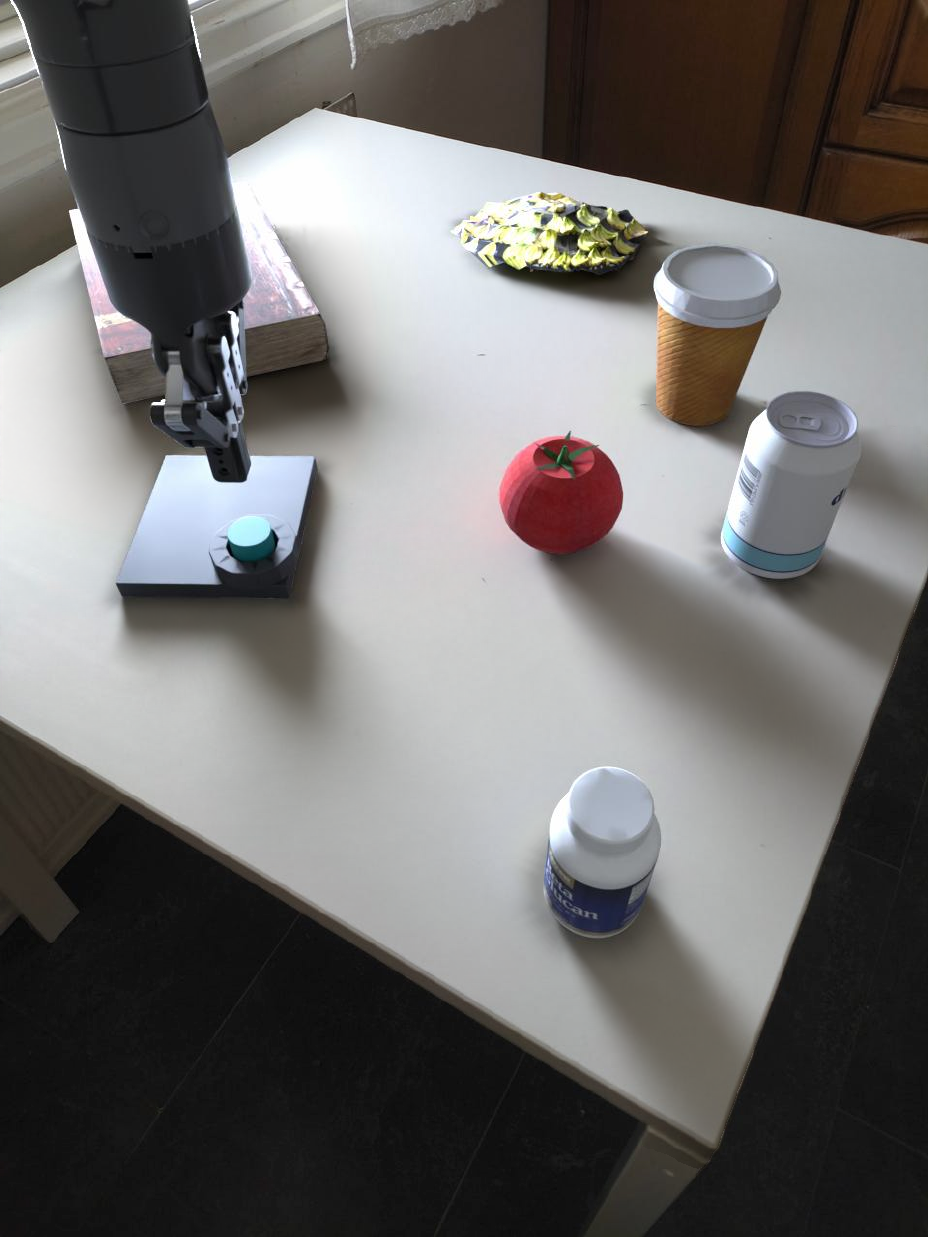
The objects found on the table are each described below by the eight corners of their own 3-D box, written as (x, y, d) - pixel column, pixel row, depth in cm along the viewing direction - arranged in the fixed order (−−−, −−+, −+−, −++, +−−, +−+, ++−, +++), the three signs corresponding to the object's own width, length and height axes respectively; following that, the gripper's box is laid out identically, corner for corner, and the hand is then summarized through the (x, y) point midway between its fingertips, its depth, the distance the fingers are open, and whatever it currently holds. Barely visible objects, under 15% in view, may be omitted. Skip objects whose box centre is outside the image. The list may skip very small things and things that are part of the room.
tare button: (271, 562, 62) (266, 546, 61) (227, 562, 62) (222, 546, 61) (278, 532, 64) (274, 516, 63) (236, 532, 64) (232, 516, 63)
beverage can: (815, 596, 62) (870, 460, 53) (713, 578, 64) (750, 442, 55) (817, 529, 67) (869, 393, 57) (722, 513, 68) (758, 377, 59)
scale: (294, 604, 63) (287, 574, 61) (119, 601, 63) (105, 572, 61) (323, 469, 72) (318, 439, 70) (170, 468, 73) (160, 438, 71)
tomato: (544, 477, 71) (549, 392, 65) (640, 525, 67) (655, 439, 61) (474, 539, 67) (472, 454, 61) (572, 594, 63) (581, 508, 57)
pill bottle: (523, 904, 48) (529, 816, 41) (574, 829, 51) (588, 733, 44) (612, 962, 46) (635, 879, 39) (660, 880, 49) (690, 788, 42)
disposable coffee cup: (755, 381, 79) (789, 249, 70) (743, 447, 73) (779, 312, 64) (647, 364, 81) (667, 233, 72) (627, 427, 75) (645, 293, 66)
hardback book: (330, 358, 83) (322, 308, 79) (122, 407, 78) (104, 357, 75) (258, 222, 100) (248, 176, 97) (85, 257, 96) (69, 210, 92)
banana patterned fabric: (424, 271, 94) (420, 202, 91) (494, 245, 106) (493, 184, 103) (605, 282, 86) (608, 207, 82) (659, 253, 98) (663, 187, 95)
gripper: (123, 150, 49) (199, 413, 62) (39, 270, 41) (148, 546, 54) (258, 149, 49) (307, 413, 62) (203, 270, 40) (273, 548, 53)
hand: (233, 475), depth 58 cm, fingers closed
